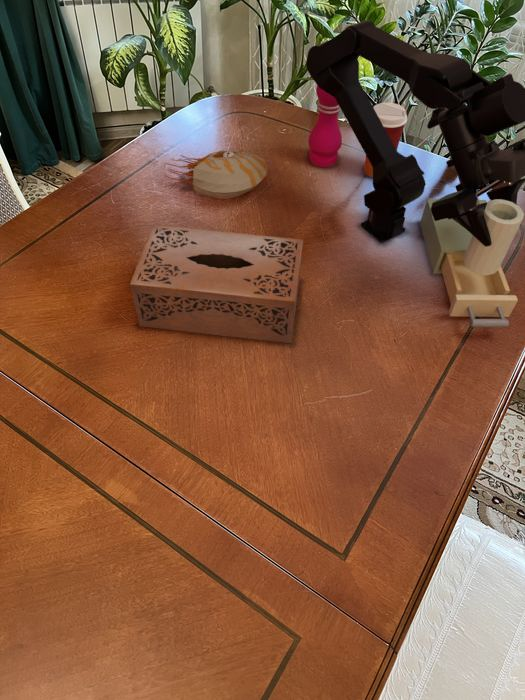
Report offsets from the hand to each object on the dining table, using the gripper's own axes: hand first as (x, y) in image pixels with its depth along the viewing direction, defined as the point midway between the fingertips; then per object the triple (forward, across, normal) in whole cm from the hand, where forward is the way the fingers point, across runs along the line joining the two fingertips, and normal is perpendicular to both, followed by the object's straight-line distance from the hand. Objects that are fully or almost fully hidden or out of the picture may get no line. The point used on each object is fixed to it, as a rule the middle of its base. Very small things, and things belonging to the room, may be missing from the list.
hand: (500, 237), depth 92 cm
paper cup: (-16, +13, +36) cm, 42 cm away
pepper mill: (-24, +7, +43) cm, 50 cm away
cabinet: (+2, +7, +17) cm, 18 cm away
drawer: (+9, -1, +9) cm, 13 cm away
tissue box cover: (-9, -37, +28) cm, 47 cm away
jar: (+4, 0, +6) cm, 7 cm away
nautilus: (-28, -18, +48) cm, 59 cm away
